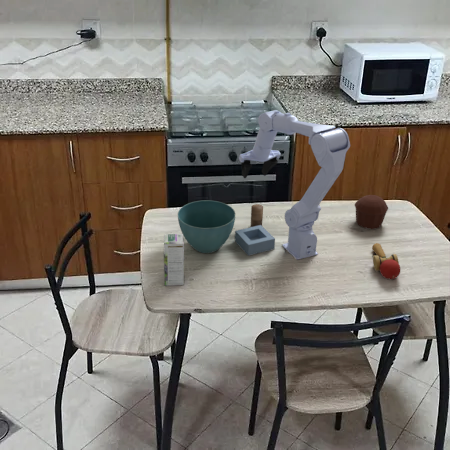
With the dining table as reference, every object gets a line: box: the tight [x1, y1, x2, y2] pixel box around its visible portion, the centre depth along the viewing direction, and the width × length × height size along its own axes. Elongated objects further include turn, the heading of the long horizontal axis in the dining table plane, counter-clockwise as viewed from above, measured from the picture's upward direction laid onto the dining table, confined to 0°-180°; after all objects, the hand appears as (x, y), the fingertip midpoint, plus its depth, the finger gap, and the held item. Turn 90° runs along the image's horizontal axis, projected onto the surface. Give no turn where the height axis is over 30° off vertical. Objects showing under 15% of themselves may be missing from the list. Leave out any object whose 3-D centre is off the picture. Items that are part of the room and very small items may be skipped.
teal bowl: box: [177, 199, 236, 254], centre depth 185 cm, size 18×18×12 cm
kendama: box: [371, 242, 401, 280], centre depth 179 cm, size 8×6×18 cm
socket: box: [234, 225, 276, 256], centre depth 188 cm, size 10×10×4 cm
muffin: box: [354, 194, 389, 230], centre depth 201 cm, size 12×11×10 cm
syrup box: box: [163, 233, 185, 287], centre depth 168 cm, size 6×6×14 cm
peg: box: [250, 203, 264, 227], centre depth 198 cm, size 4×4×8 cm
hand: (253, 175), depth 196 cm, fingers open, 7 cm apart
